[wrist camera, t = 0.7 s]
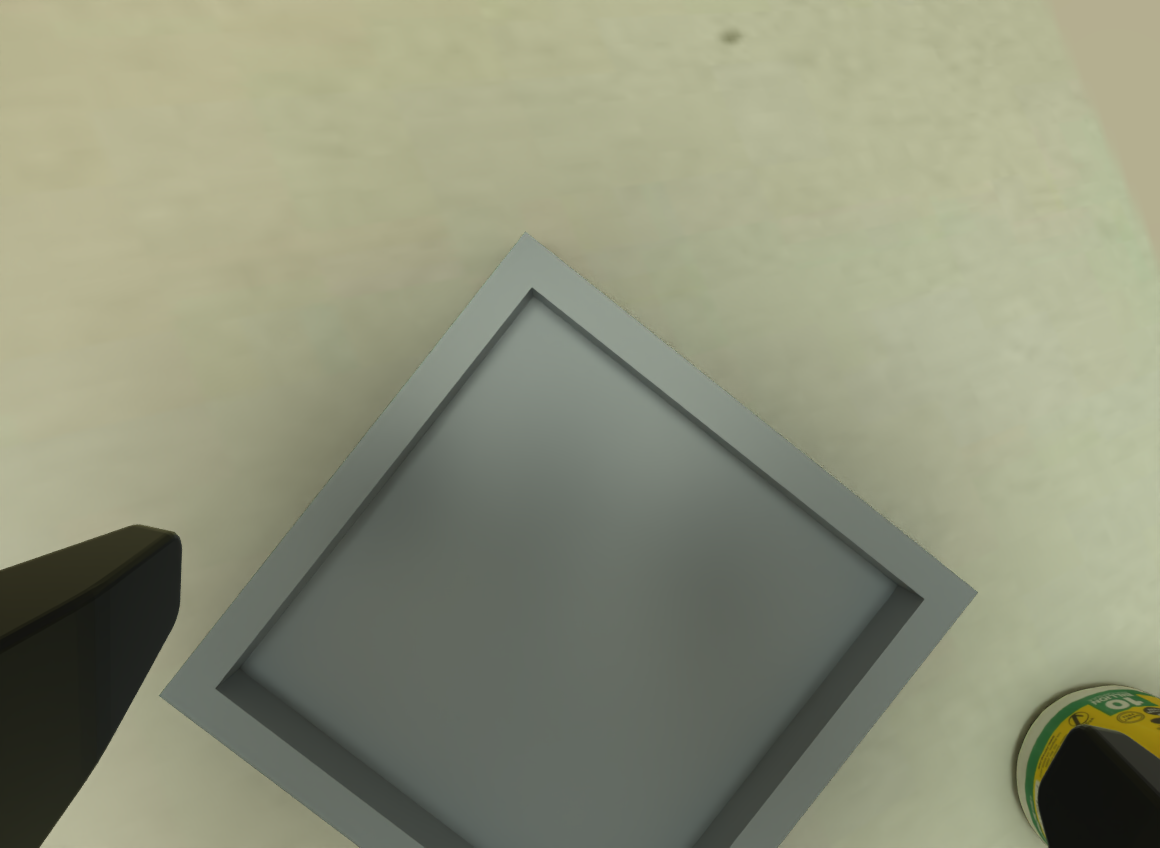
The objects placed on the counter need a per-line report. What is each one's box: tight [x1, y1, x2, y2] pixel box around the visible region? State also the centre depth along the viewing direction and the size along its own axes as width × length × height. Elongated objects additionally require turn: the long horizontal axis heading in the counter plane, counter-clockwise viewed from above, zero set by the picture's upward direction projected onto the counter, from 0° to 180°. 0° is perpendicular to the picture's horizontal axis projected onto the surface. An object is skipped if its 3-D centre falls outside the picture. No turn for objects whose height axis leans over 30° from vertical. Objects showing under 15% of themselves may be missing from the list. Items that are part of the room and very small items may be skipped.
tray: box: [159, 232, 978, 848], centre depth 24 cm, size 15×15×2 cm
